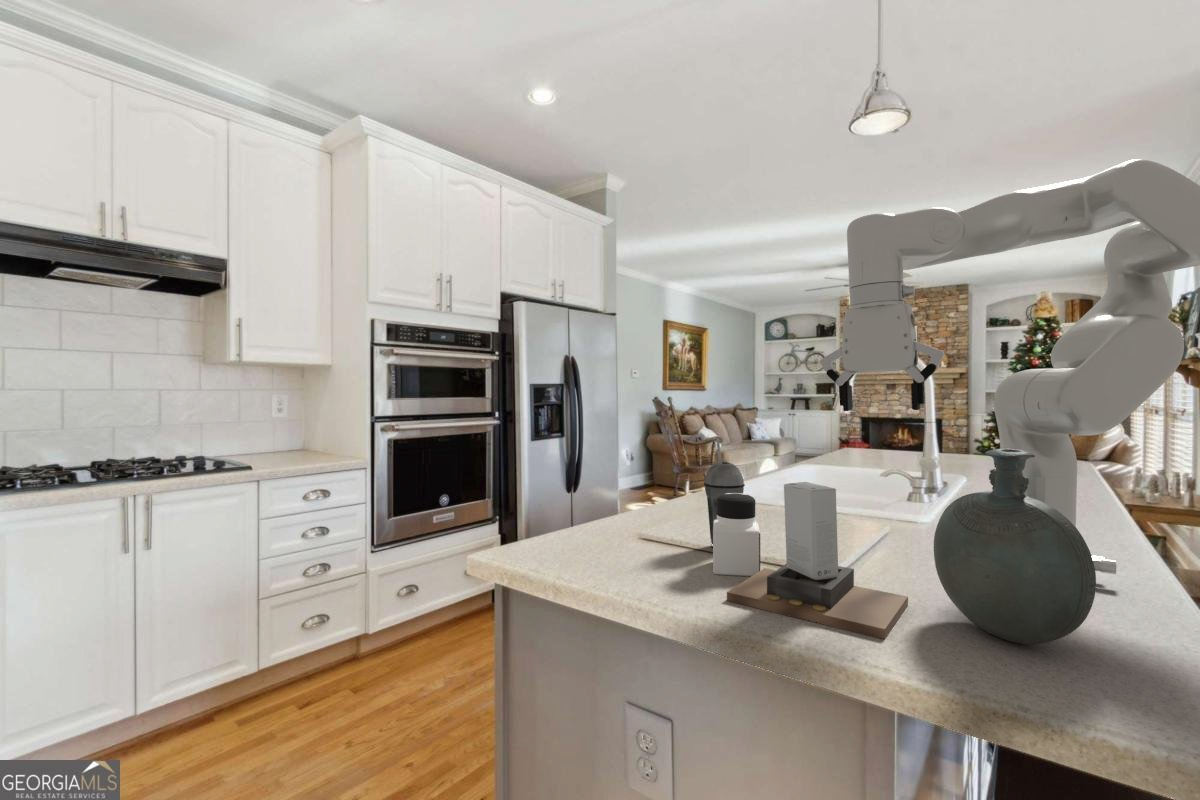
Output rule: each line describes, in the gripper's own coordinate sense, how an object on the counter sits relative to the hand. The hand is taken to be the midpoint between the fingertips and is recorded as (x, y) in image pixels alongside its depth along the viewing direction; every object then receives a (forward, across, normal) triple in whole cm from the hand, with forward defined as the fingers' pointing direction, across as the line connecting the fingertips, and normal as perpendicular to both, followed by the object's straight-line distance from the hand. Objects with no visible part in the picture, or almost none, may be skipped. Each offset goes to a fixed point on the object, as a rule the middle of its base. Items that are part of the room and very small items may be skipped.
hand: (881, 409), depth 90 cm
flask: (+26, -15, +16) cm, 34 cm away
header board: (+25, +6, +18) cm, 31 cm away
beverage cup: (+25, +27, +1) cm, 37 cm away
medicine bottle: (+25, +20, +11) cm, 34 cm away
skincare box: (+21, +6, +17) cm, 28 cm away
